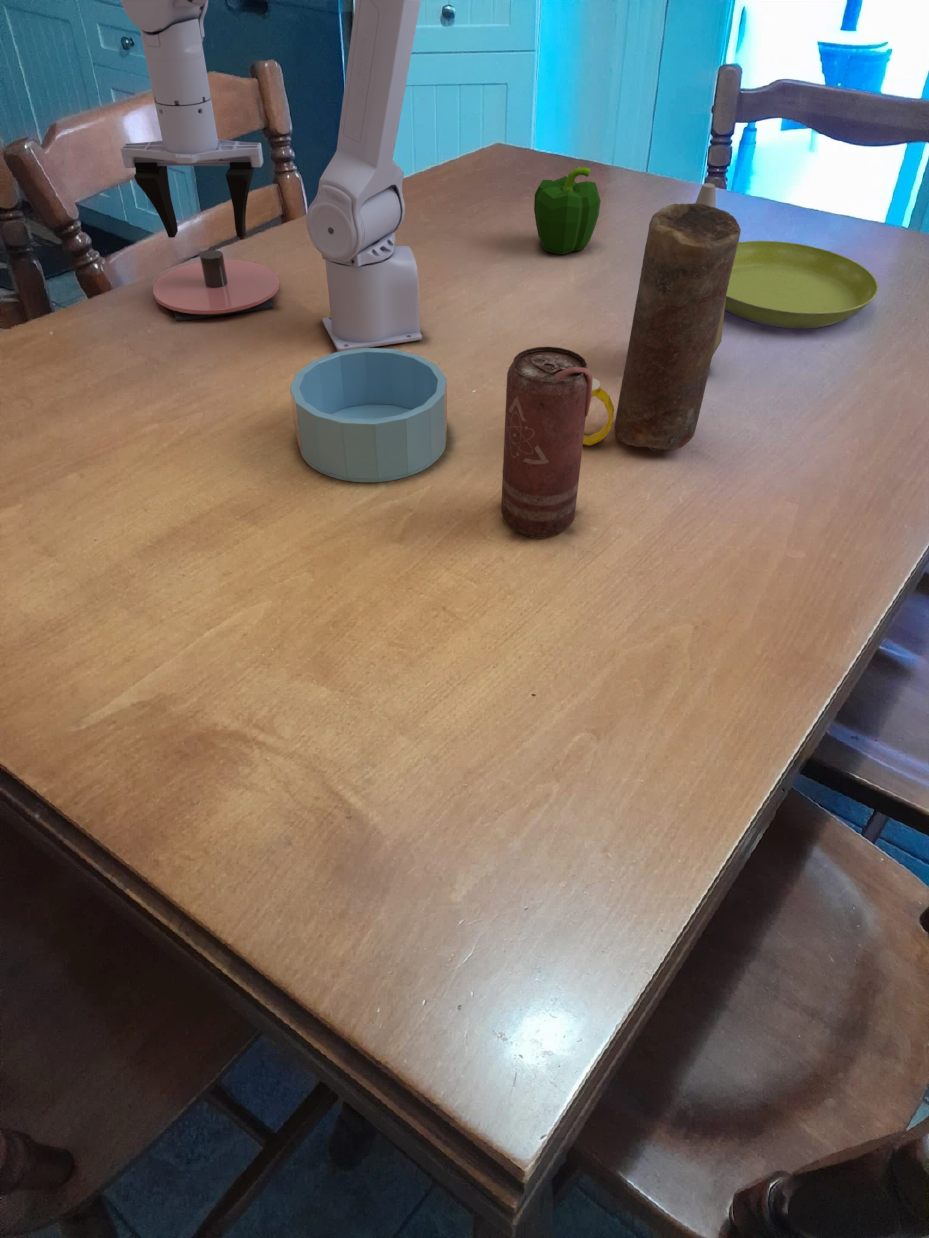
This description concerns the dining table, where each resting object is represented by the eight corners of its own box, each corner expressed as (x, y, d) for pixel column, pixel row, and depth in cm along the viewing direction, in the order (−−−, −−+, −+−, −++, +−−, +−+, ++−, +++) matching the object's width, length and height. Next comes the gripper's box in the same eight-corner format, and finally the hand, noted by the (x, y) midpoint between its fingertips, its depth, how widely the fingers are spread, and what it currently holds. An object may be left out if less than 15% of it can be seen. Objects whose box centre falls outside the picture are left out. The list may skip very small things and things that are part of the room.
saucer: (674, 320, 103) (679, 292, 101) (708, 256, 117) (713, 230, 115) (863, 352, 97) (873, 324, 95) (876, 281, 111) (884, 255, 109)
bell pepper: (519, 251, 118) (523, 169, 111) (548, 232, 123) (554, 153, 116) (577, 265, 114) (585, 182, 108) (604, 245, 120) (614, 164, 113)
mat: (257, 272, 112) (256, 269, 112) (273, 308, 104) (272, 305, 104) (166, 284, 109) (165, 280, 109) (176, 321, 102) (175, 318, 101)
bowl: (421, 395, 90) (419, 339, 86) (466, 466, 80) (466, 407, 76) (286, 417, 87) (278, 360, 83) (316, 494, 77) (309, 434, 73)
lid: (286, 268, 112) (281, 231, 109) (273, 319, 101) (267, 279, 98) (168, 269, 112) (160, 231, 109) (142, 320, 101) (132, 280, 98)
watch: (542, 445, 83) (547, 386, 79) (546, 429, 85) (551, 371, 81) (607, 452, 82) (615, 393, 78) (610, 436, 84) (618, 378, 80)
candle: (700, 427, 86) (747, 208, 72) (689, 467, 81) (736, 239, 67) (621, 413, 88) (653, 196, 74) (605, 451, 82) (635, 227, 69)
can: (573, 545, 72) (591, 386, 63) (495, 534, 73) (501, 377, 64) (581, 501, 77) (599, 347, 67) (507, 492, 78) (515, 339, 68)
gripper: (101, 109, 90) (134, 248, 99) (248, 109, 90) (267, 247, 99) (118, 92, 95) (148, 225, 104) (257, 91, 95) (274, 224, 104)
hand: (207, 234), depth 102 cm, fingers open, 7 cm apart
